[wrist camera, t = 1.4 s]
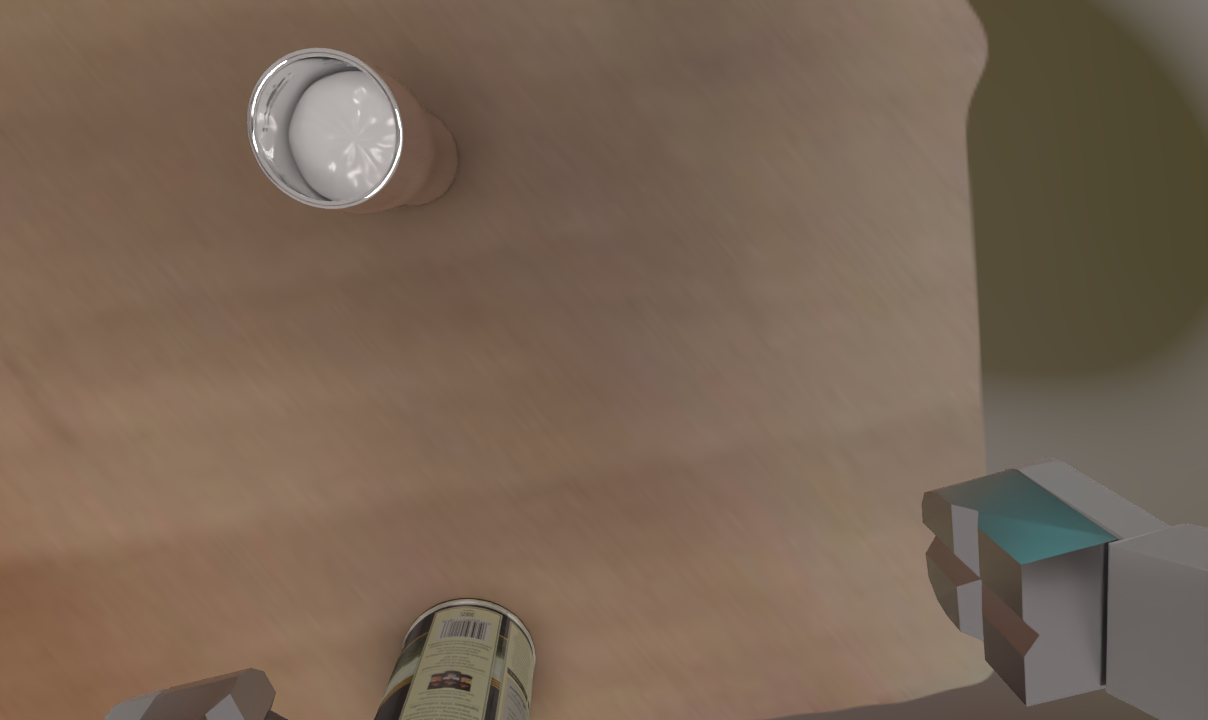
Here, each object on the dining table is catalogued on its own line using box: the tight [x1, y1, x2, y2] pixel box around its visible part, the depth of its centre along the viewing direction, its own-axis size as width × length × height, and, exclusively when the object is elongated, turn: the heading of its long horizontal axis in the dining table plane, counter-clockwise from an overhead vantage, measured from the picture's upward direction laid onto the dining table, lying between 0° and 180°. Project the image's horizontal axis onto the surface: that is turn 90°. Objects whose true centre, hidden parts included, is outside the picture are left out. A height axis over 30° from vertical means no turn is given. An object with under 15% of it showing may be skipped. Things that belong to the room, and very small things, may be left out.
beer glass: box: [247, 48, 458, 214], centre depth 36 cm, size 7×7×15 cm
